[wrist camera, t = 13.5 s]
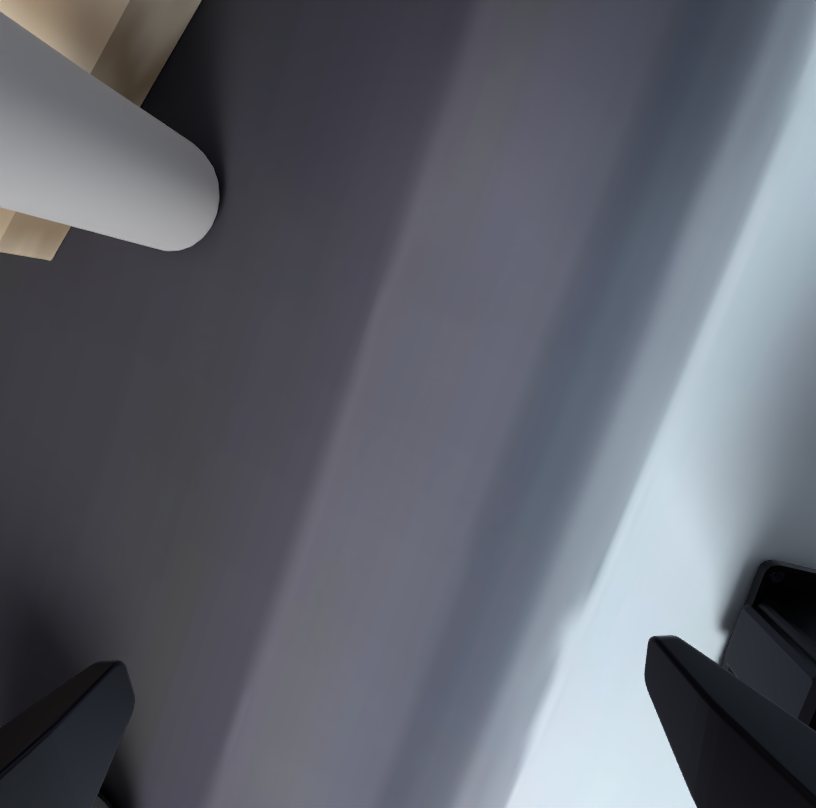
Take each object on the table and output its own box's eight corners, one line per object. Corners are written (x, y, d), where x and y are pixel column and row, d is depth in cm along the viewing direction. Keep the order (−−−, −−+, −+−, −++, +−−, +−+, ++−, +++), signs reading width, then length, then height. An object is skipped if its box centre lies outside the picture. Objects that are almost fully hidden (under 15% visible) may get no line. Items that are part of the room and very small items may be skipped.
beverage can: (157, 271, 20) (-290, 185, 8) (110, 170, 20) (-430, -71, 8) (244, 224, 19) (-122, 53, 7) (197, 117, 19) (-271, -246, 7)
